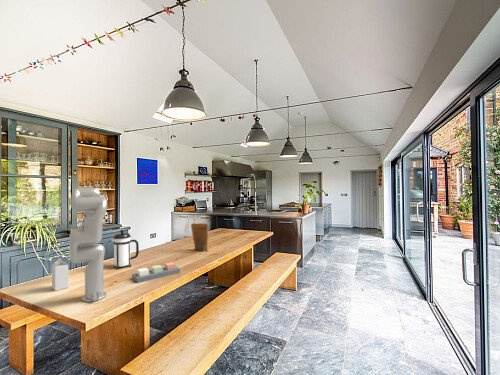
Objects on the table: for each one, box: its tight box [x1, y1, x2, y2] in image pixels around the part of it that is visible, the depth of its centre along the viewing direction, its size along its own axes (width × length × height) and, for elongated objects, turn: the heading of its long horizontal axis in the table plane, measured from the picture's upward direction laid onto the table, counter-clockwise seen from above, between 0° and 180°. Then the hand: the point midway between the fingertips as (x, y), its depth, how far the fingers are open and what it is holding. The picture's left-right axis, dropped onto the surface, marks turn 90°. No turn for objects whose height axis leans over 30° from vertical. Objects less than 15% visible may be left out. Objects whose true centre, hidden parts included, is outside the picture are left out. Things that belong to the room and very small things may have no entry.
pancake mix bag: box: [190, 222, 209, 252], centre depth 259 cm, size 7×19×28 cm, turn 65°
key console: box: [131, 265, 181, 284], centre depth 189 cm, size 12×31×3 cm, turn 131°
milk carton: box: [51, 257, 69, 292], centre depth 167 cm, size 7×7×19 cm
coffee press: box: [111, 229, 140, 270], centre depth 211 cm, size 17×16×30 cm
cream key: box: [136, 267, 150, 277], centre depth 182 cm, size 6×6×5 cm
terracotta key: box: [163, 261, 176, 270], centre depth 196 cm, size 6×6×5 cm
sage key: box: [150, 264, 163, 273], centre depth 189 cm, size 6×6×5 cm
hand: (90, 238), depth 185 cm, fingers open, 9 cm apart
